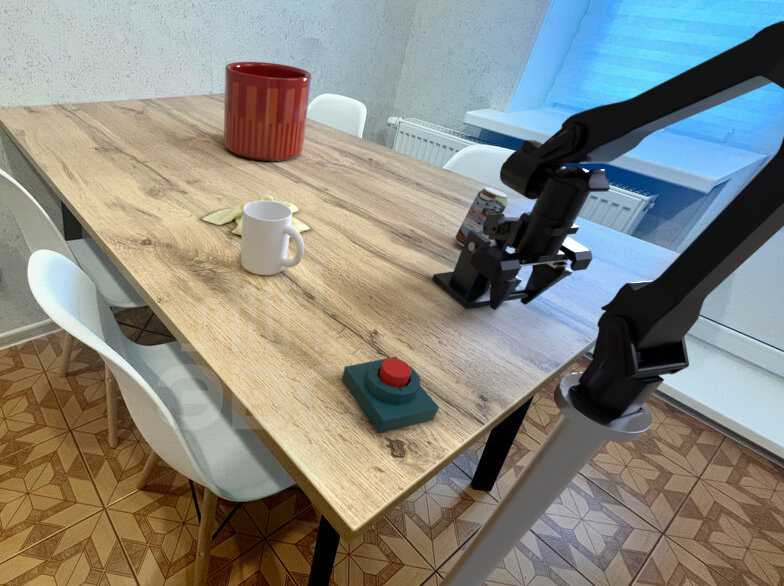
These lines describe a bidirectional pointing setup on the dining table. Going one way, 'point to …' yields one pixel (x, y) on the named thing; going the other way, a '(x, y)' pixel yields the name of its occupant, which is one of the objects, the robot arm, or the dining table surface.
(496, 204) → the beverage can
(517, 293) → the lever
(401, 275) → the dining table surface
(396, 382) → the button
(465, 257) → the bracket
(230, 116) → the planter
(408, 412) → the button block
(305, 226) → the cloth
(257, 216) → the mug
